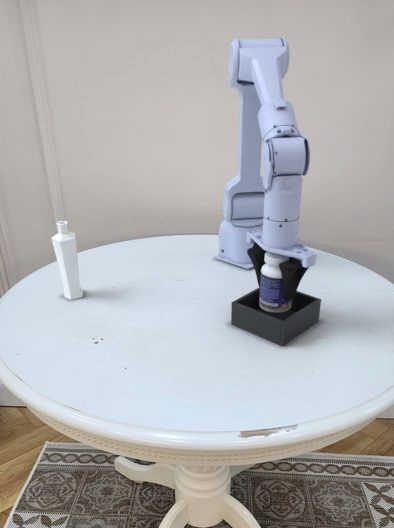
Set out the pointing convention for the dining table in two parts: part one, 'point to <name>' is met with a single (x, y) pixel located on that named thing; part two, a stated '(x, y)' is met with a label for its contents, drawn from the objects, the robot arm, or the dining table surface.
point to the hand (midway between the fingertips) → (276, 292)
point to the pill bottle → (273, 285)
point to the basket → (275, 317)
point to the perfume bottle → (67, 260)
